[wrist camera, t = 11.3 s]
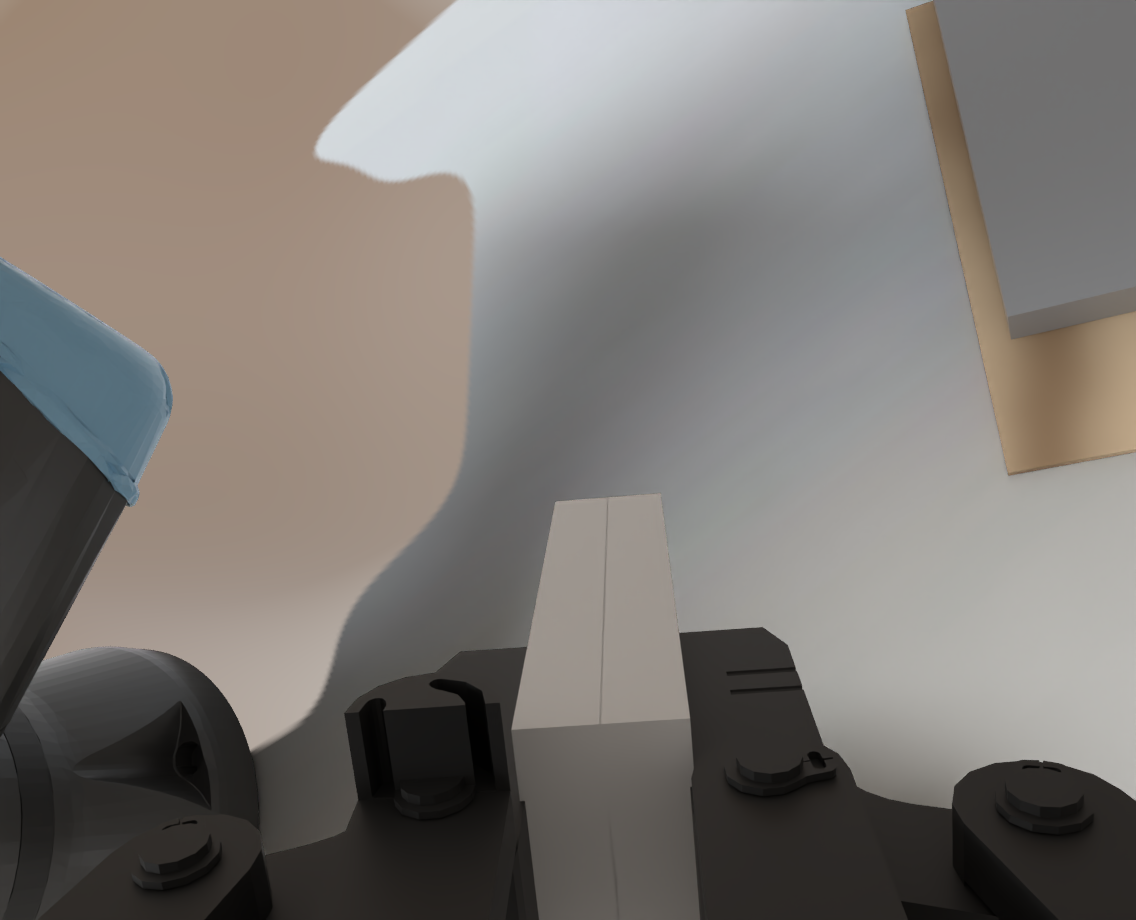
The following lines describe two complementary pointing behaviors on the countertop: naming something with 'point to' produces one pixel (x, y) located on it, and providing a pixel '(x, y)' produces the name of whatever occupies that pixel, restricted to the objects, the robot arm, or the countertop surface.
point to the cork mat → (1036, 362)
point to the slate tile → (1051, 150)
